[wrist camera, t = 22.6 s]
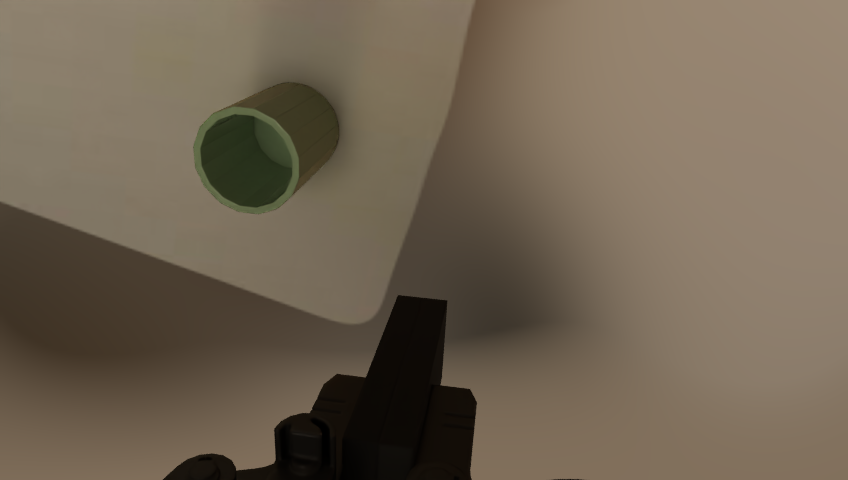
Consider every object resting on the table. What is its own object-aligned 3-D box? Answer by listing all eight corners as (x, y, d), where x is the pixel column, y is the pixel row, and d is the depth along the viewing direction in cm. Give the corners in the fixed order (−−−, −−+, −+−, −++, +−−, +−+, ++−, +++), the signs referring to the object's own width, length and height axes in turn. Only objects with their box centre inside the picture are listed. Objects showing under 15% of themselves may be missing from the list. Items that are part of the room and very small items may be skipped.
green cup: (338, 175, 41) (300, 219, 34) (254, 166, 42) (198, 207, 35) (339, 86, 39) (298, 112, 32) (249, 78, 40) (189, 102, 32)
